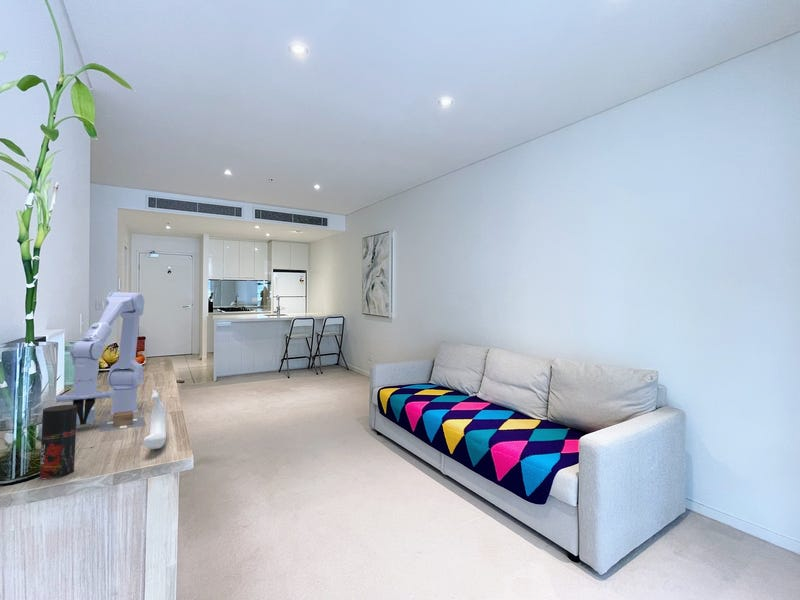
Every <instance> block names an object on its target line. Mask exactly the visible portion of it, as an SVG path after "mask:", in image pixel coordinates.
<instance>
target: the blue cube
mask: <svg viewBox="0 0 800 600" xmlns="http://www.w3.org/2000/svg"><path fill="white" fill-rule="evenodd" d="M95 410H96V407H95V406H94V405H93V407H92V409H91V410H90V412H89V415H88V417H87V421H86V424H85V425H89V424H90V425H91V424H95ZM84 412H85V406H84V407H83V418H84ZM76 426H81V425H80V420H79V416H78V413H77V421H76Z"/></svg>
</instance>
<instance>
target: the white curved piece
mask: <svg viewBox="0 0 800 600" xmlns="http://www.w3.org/2000/svg"><path fill="white" fill-rule="evenodd" d="M151 392H152V394H151V399H153V402H154V406H153V407H152V411H151V416H150V421H149V434H148V436H146V437H144V438H143V440H142V442H143V446H144V447H145V448H147V449H150V450H157V449H161V448H162V447H164V445H165V443H166V442H167V441H166V440H167V410H166V407H165V405H164V404H163V402H162V401H161V400H160V396H159V393H158V392H157V391H156V390H155V389H152V390H151Z"/></svg>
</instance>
